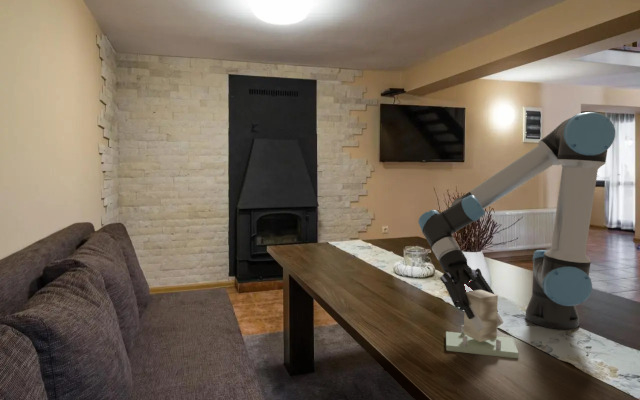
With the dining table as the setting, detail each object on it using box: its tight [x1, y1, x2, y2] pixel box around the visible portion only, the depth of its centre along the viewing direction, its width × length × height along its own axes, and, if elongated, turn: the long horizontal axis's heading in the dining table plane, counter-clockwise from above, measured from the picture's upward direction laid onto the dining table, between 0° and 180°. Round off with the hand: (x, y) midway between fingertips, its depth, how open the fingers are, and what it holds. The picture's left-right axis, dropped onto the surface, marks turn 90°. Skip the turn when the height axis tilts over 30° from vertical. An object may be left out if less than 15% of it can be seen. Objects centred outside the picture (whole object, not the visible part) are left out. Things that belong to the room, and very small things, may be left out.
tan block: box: [463, 290, 499, 342], centre depth 115 cm, size 6×6×12 cm
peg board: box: [445, 324, 520, 359], centre depth 116 cm, size 18×10×4 cm, turn 74°
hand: (490, 326), depth 112 cm, fingers closed on tan block, 6 cm apart
